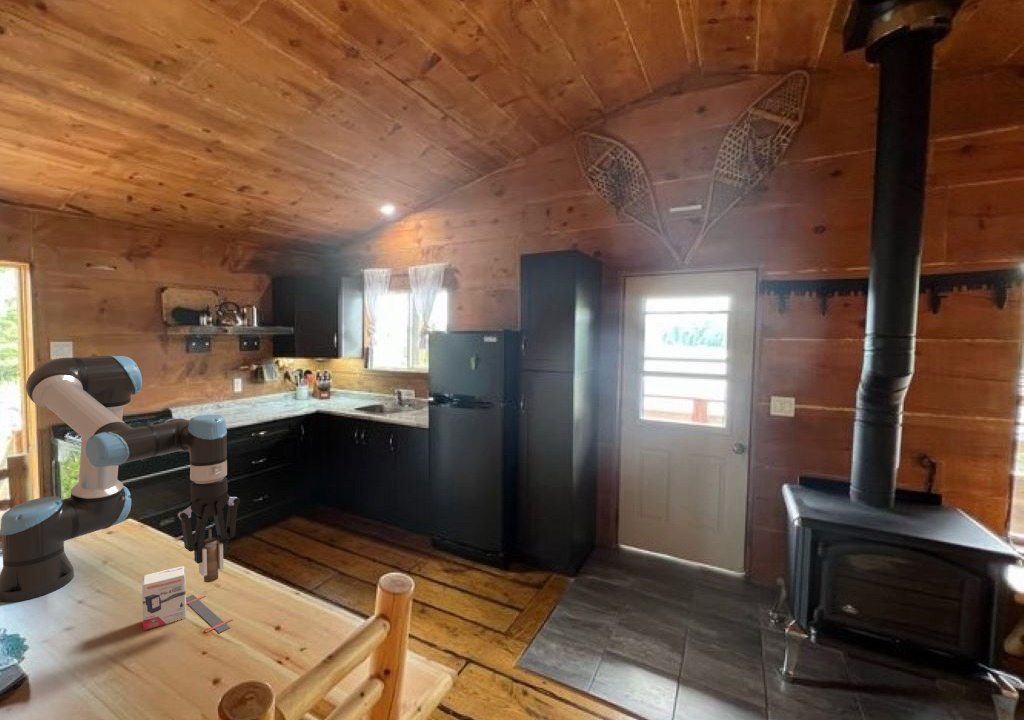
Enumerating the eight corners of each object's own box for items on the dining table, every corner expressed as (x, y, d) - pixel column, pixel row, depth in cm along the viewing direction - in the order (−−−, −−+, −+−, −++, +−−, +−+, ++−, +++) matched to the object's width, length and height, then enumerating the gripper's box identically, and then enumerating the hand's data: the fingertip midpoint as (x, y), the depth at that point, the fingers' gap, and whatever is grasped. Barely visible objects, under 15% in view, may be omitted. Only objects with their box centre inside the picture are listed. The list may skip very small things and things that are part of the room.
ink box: (142, 631, 109) (141, 584, 108) (143, 620, 113) (142, 575, 112) (186, 618, 114) (185, 573, 113) (186, 608, 118) (184, 565, 117)
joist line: (174, 602, 120) (174, 602, 120) (200, 592, 125) (200, 591, 125) (210, 637, 108) (210, 636, 108) (237, 624, 112) (237, 623, 112)
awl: (201, 579, 113) (200, 528, 112) (215, 574, 115) (214, 524, 114) (206, 584, 111) (205, 532, 110) (220, 578, 114) (219, 527, 113)
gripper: (176, 491, 103) (179, 590, 104) (250, 473, 116) (252, 562, 117) (164, 484, 107) (167, 579, 109) (236, 467, 120) (238, 553, 122)
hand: (211, 570), depth 113 cm, fingers closed on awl, 3 cm apart
